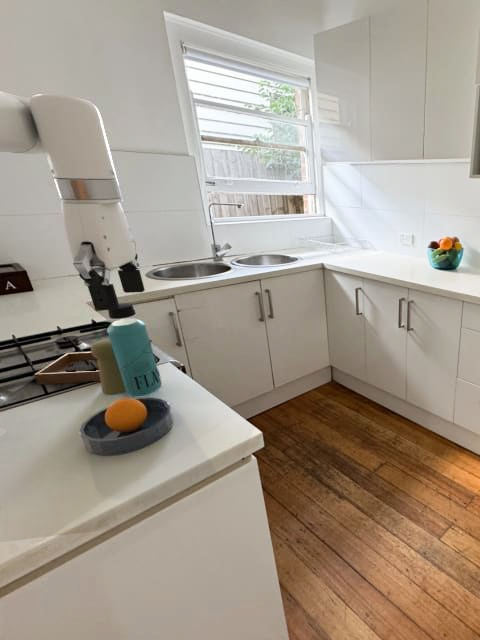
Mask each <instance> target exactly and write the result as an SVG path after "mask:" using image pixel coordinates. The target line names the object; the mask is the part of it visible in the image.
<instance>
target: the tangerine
mask: <svg viewBox="0 0 480 640" xmlns="http://www.w3.org/2000/svg"><path fill="white" fill-rule="evenodd" d="M136 399H137V398H130V397H129V398H128V397H126V398H121V399H118V400H116V401H114V402H113V403H111V404H110V405H108V406H107V407H108V409H107V411H106V413H105V421H106V424H107V425H108V427H109V428H111V429H112V430H114V431H117V432H131V431H133V430H136V429H137V428H139V427H140V426H141V425H142V424H143V423H144V422H145V420H146V417H147V410H146V407H145V406H144V404H143V403H141V402H140V401H138V400H136Z"/></svg>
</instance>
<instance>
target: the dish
mask: <svg viewBox="0 0 480 640" xmlns="http://www.w3.org/2000/svg"><path fill="white" fill-rule="evenodd" d="M135 399H136V400H138V401H140V402H141V403H143V404H144V406H145V407H146V410H147V417H146V420H145V422H144V423H143V424H142V425H141V426H140V427H139V428H137V429H136V430H133V431H131V432H117V431H114V430H112V429H111V428H109V427H108V425H107V424H106V421H105V413H106V411H107V409H108V407H109V406H107V407H104V408H102V409H100V410H99V411H98V410H97V412H95V413H93V414H92V415H90V416H89V417H88V418H87V419H86V420H84V422H83V423H81V426H80V428H79V431H78V432H79V435H80V438H81V439H82V442H83V444H84V447H85V449H86V450H87V452H89V453H91V454H94V455H96V456H107V457H108V456H117V455H118V456H119V455H124V454H127V453H132V452H134V451H135V452H136V451H138V450H141V449H143V448H145V447H147V446H149V445H151V444H154V443H155V442H157V441H159V440H160V439H162V438H163V437H164V436H166V435H167V434H168V433H169V432H170V431H171V429H172V428H173V426H174V422H175V421H174V415H173V411H172V406H171V405H170V403H169V402H168V401H167V400H165V399H162V398H157V397H139V398H135Z"/></svg>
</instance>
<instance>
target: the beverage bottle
mask: <svg viewBox="0 0 480 640" xmlns="http://www.w3.org/2000/svg"><path fill="white" fill-rule="evenodd" d="M118 303H119V302H118ZM119 306H120V307H119V308H118V309H115V310H107V312H108V317H109V319H113V320H114V319H115V321H113V322H111V324H109V326H107V328H106V333H107V335H108V339H110V341H111V344H112V347H113V350H114V353H115V357H116V360H117V363H118V366H119V370H120V373H121V376H122V377H121V378H122V381H123V383H124V386H125V389H126V392H125V393H127V395H128V396H130V397H144V396H148V395H151V394H153V393H156V392H157V391H159V390H160V389H161V387H162V379H161V377H162V376H161V375H160V370H159V368H158V365H157V361H156V357H155V356H154V355H155V354H154V349H153V346H152V341H151V338H150V336H149V333H148V332H147V331H148V330H147V326H146V323H145V322H144V321H142V320H140V319H137V318H135V317H134V318H133V316H135V315H136V314H137V313H136V310H135V308H134V306H133V304H132V303H130V302H120V303H119Z"/></svg>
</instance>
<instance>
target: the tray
mask: <svg viewBox="0 0 480 640" xmlns="http://www.w3.org/2000/svg"><path fill="white" fill-rule="evenodd" d="M82 360H94V361H95V363H96V364H97V366H98V360H97V358H95V357H94V356H93V355H92V353H91V351H77V352H76V351H75V352H67V353H65V354H64V355H62V356H60V357H59V358H57V359H56V360H54V361H53V362H51V363H50V364H48V365H46V366H45V367H44V368H42V369H40V370H39V371H37V372H35V373H34V374H33V377H34V378H35V381H36V383H37V385H58V384H76V383H89V382H88V381H96V382H101V380H100V373H99V370H96V371H76V372H66V371H65V368H66V367H68V366H69V365H72V364H74V363H76V362H79V361H82ZM41 382H42V383H43V384H41Z"/></svg>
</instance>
